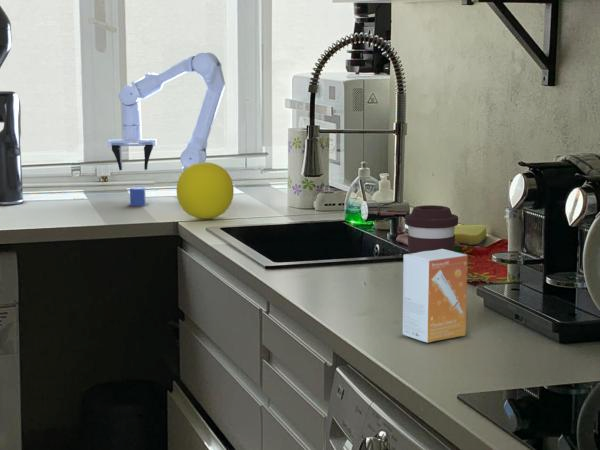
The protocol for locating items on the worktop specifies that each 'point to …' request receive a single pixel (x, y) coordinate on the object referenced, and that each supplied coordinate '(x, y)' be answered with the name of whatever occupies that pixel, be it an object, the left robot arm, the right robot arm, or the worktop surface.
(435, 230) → the coffee cup
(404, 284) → the small box
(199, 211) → the toy
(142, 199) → the block
